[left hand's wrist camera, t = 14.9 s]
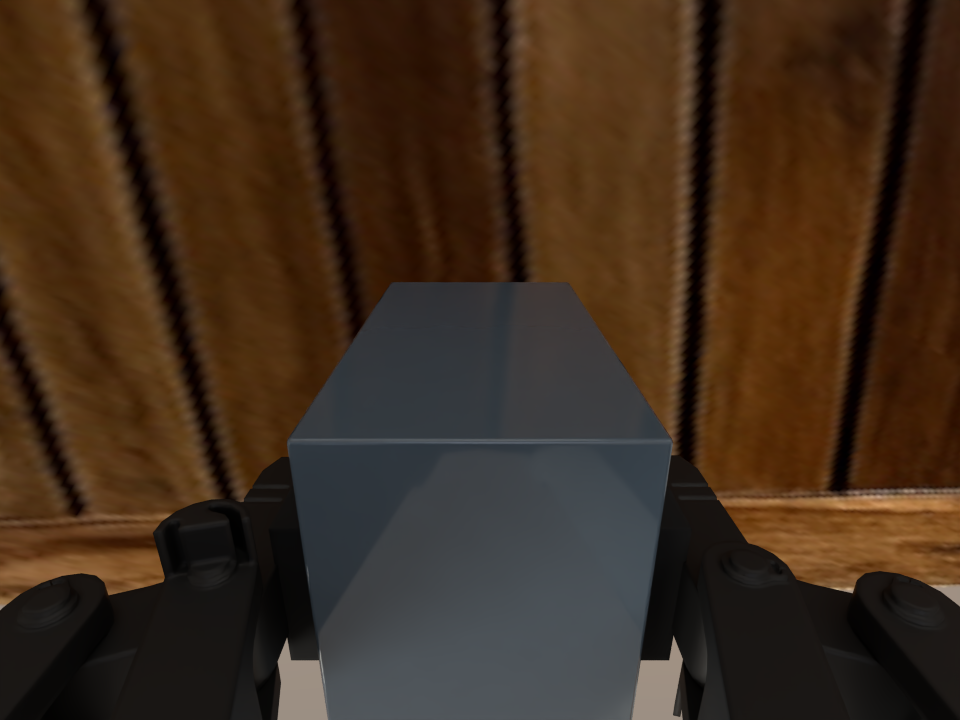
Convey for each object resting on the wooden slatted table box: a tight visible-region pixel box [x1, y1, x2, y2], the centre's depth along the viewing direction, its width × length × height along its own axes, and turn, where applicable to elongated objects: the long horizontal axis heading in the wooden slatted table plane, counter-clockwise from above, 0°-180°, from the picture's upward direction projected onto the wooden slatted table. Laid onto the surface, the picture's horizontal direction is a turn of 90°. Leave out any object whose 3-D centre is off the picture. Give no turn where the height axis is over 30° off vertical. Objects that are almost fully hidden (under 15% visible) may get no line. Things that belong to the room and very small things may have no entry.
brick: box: [287, 282, 673, 720], centre depth 12 cm, size 5×7×9 cm
